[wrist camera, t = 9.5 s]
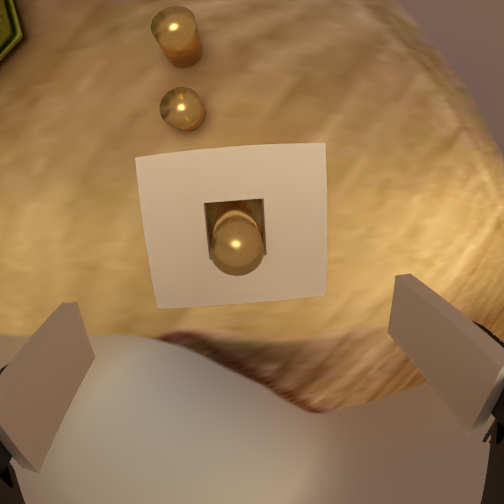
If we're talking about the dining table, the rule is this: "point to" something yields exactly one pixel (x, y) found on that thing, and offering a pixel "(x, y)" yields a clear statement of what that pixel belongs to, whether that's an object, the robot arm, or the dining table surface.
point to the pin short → (182, 109)
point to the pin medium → (178, 35)
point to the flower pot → (8, 27)
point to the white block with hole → (230, 189)
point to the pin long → (236, 239)
